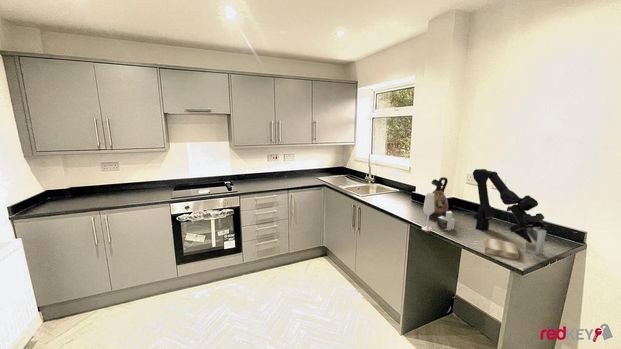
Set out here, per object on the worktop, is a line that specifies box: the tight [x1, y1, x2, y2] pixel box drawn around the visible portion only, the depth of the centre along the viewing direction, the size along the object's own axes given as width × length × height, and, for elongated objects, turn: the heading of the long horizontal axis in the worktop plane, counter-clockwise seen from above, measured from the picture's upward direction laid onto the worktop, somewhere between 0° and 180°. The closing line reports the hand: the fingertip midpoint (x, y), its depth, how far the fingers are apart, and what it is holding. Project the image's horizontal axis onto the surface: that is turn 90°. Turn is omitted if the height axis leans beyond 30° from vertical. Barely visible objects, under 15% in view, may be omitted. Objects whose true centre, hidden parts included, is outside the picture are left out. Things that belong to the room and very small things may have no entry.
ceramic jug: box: [429, 177, 449, 219], centre depth 189 cm, size 17×15×30 cm
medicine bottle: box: [436, 209, 456, 231], centre depth 168 cm, size 7×7×12 cm
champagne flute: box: [421, 192, 434, 232], centre depth 166 cm, size 7×7×24 cm
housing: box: [524, 227, 547, 256], centre depth 135 cm, size 5×5×13 cm
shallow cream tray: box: [483, 237, 519, 260], centre depth 138 cm, size 14×14×3 cm
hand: (538, 241), depth 134 cm, fingers open, 9 cm apart
